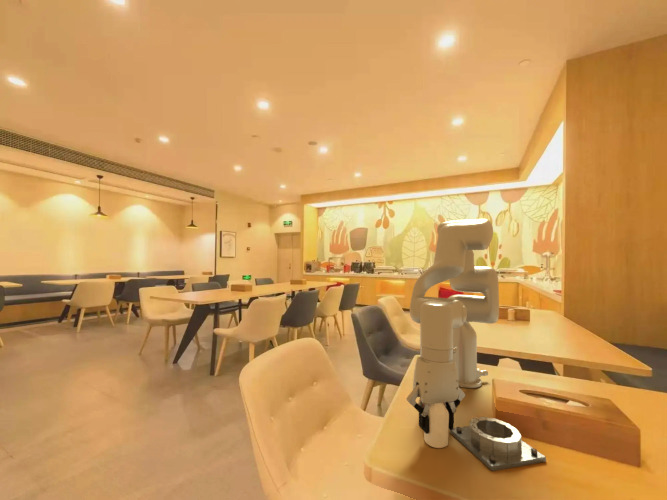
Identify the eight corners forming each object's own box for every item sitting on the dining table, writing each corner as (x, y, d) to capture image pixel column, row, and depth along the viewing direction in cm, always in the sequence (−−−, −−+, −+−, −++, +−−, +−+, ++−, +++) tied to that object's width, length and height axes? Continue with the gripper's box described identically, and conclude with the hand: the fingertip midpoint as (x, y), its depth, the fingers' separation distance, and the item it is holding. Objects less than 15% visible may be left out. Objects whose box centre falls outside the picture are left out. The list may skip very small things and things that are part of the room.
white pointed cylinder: (430, 383, 75) (452, 389, 71) (430, 431, 75) (452, 440, 71) (420, 391, 70) (443, 398, 67) (420, 441, 70) (443, 452, 66)
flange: (496, 426, 78) (496, 411, 78) (545, 461, 64) (545, 442, 64) (450, 432, 74) (450, 416, 75) (491, 471, 61) (491, 451, 61)
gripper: (457, 346, 77) (457, 416, 76) (396, 350, 73) (396, 424, 72) (477, 355, 70) (477, 433, 69) (411, 361, 65) (411, 443, 65)
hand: (436, 427), depth 71 cm, fingers closed on white pointed cylinder, 5 cm apart
